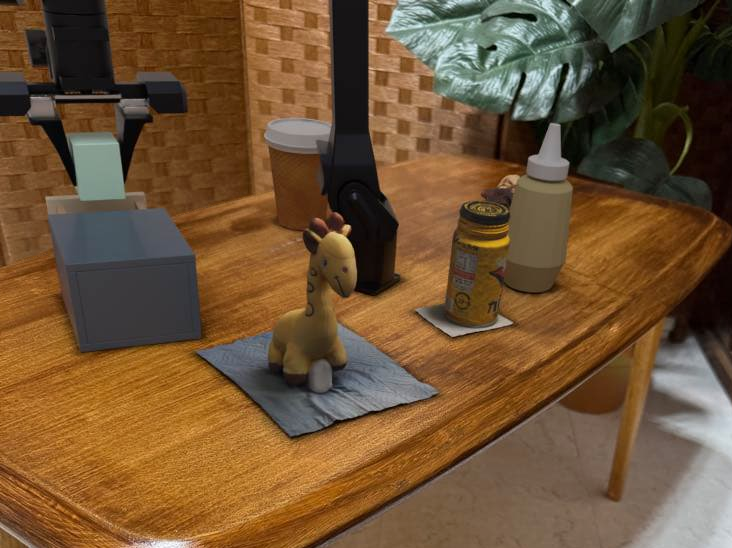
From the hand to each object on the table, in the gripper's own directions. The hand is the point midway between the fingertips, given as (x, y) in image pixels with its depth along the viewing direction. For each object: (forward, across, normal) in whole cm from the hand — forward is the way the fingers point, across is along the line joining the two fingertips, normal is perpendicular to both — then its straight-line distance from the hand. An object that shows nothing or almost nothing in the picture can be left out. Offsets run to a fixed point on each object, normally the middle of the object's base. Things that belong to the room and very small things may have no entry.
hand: (99, 184), depth 89 cm
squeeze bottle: (+10, -47, +13) cm, 50 cm away
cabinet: (+10, 0, +11) cm, 15 cm away
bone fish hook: (+10, -59, -12) cm, 61 cm away
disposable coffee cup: (+10, -27, -13) cm, 32 cm away
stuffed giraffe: (+10, -14, +28) cm, 33 cm away
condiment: (+10, -34, +20) cm, 41 cm away
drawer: (+9, 0, -1) cm, 9 cm away
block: (+1, 0, 0) cm, 1 cm away
